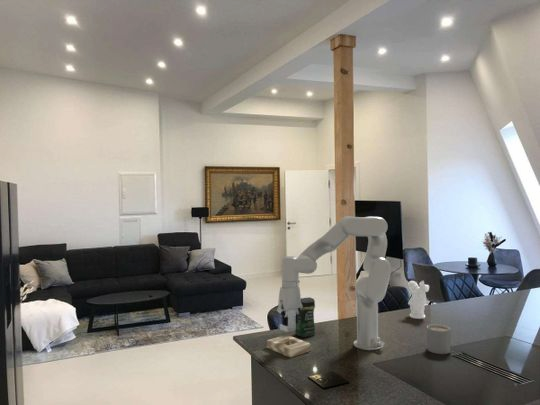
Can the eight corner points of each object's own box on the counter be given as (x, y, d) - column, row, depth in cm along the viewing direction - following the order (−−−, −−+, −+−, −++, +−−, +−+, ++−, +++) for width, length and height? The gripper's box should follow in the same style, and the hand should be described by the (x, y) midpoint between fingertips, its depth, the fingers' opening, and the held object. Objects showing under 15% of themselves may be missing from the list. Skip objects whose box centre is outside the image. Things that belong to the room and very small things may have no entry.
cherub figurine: (405, 315, 248) (404, 277, 248) (423, 313, 252) (422, 276, 252) (418, 320, 236) (417, 281, 236) (437, 318, 240) (436, 279, 240)
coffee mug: (440, 355, 184) (440, 332, 184) (422, 348, 193) (421, 326, 193) (460, 349, 191) (460, 327, 191) (441, 343, 199) (441, 322, 199)
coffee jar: (301, 338, 207) (300, 300, 207) (293, 334, 215) (292, 297, 214) (317, 335, 212) (317, 298, 212) (309, 331, 219) (309, 295, 219)
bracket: (295, 329, 192) (295, 307, 192) (287, 331, 189) (287, 309, 189) (287, 326, 196) (287, 305, 196) (279, 328, 193) (279, 307, 193)
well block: (310, 351, 190) (310, 343, 190) (290, 357, 183) (290, 349, 183) (287, 341, 203) (286, 334, 203) (267, 347, 195) (267, 340, 195)
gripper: (298, 280, 200) (298, 319, 200) (270, 284, 189) (269, 325, 189) (309, 283, 194) (309, 322, 194) (281, 287, 183) (280, 329, 183)
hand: (289, 323), depth 192 cm, fingers closed on bracket, 5 cm apart
